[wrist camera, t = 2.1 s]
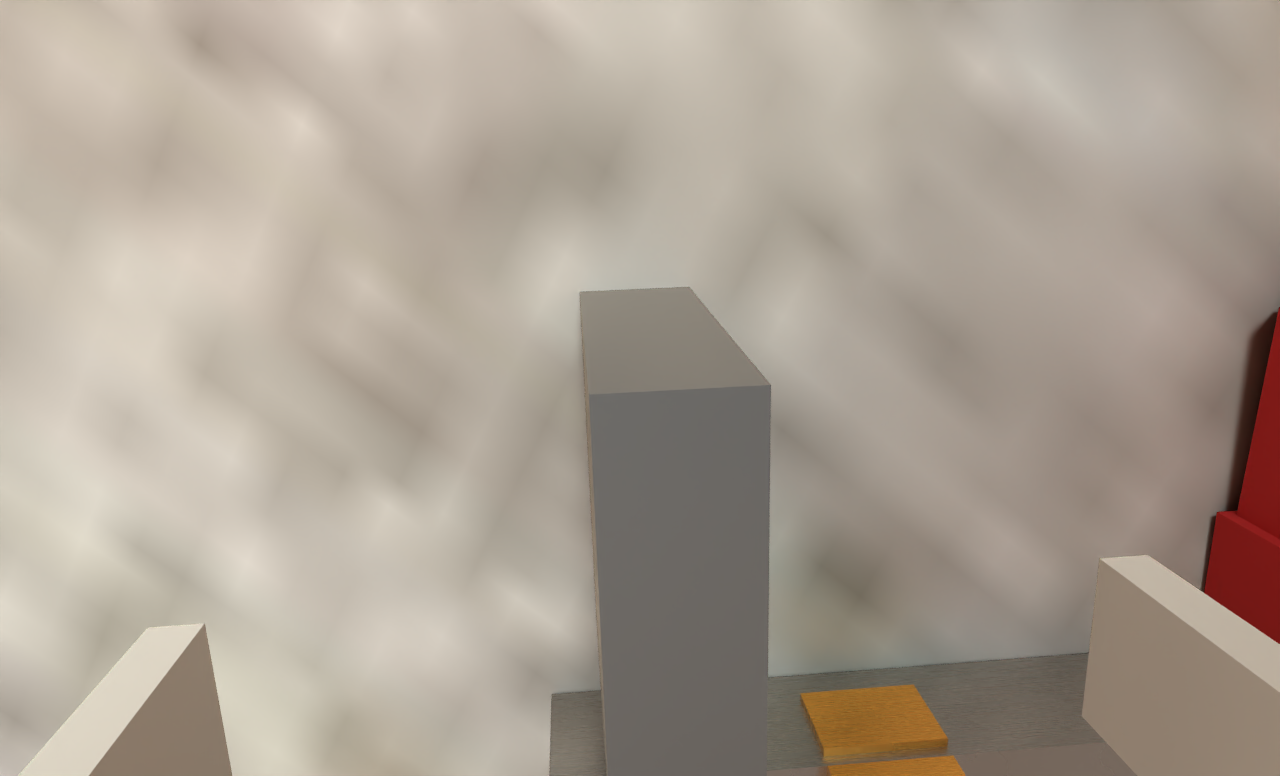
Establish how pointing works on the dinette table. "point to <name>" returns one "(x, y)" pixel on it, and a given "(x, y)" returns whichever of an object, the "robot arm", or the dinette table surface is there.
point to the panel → (677, 535)
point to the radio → (1254, 521)
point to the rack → (899, 723)
